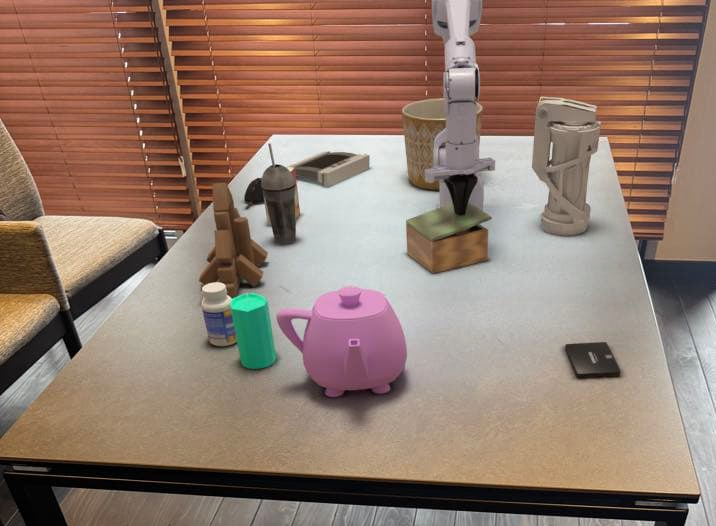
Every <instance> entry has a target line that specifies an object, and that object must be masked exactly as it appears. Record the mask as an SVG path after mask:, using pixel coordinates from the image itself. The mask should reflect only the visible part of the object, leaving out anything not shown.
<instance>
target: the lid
mask: <svg viewBox="0 0 716 526" xmlns="http://www.w3.org/2000/svg"><path fill="white" fill-rule="evenodd" d="M492 219H493V217H492V215H490V214H489V213H487V212H485V211H484V210H483V211H482V210H480V209H478V208H477V207H475V206H473V205H472V204H470V203H468V205H467V208H466V213H465V214H464V215H460V216H459V215H457V214H456V213H455V212H454V207H453V203H451V204H448V205H446V206H443V207H440V206H439V207H438V208H436V209H432V210H429V211H427V212H424V213H421V214H419V215H416V216H414V217H413V216H412V217H410V218H408V219H406V220H405V224H406V223H407V224H408V225H410V226H411V227H413V228H414V229H415V230H417V231H418V232H420V233H421V234H422V235H424V236H425V237H427V238H428V239H429V240H431V241H432V242H433V241H436V240H439V239H441V238H444V237H446V236H449V235H452V234H454V233H457V232H459V231H462V230H465V229H467V228H470V227H473V226H475V225H478V224H480V225H481V224H484V223H485V222H488V221H491V220H492Z"/></svg>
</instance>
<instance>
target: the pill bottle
mask: <svg viewBox="0 0 716 526" xmlns="http://www.w3.org/2000/svg"><path fill="white" fill-rule="evenodd" d="M201 292H202V296H203V298H204V299H203V298H202V300H203V301H202V300H201V303H200V304H201V305H200V307H201V311H202V315H203V320H204V323H205V328H206V334H207V338H208V341H209V343H210V344H211V345H213V346H215V347H228V346H231V345H234V344H236V343H237V338H236V333H235V328H234V323H233V317H232V312H231V307H230V302H231V300H232V298H231V297H230V296H228V295H227V290H226V286H225V284H223V283H220V282H218V281H217V282H214V283H209V284H206V285H203V286H202V287H201Z"/></svg>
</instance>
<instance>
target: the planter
mask: <svg viewBox="0 0 716 526" xmlns="http://www.w3.org/2000/svg"><path fill="white" fill-rule="evenodd" d="M475 102H476V104H477V112H476V135H477V138H478V145H479V146H480V143H481V133H482V132H481V131H482V121H483V110H484V107H483V105H482V104H480V103H479V102H478V103H477V101H475ZM401 116H402V117H401V118H402V127H403V138H404V146H405V147H404V148H405V158H406V167H407V177H408V179H409V181H410V182H411V184H413V185H414V186H416V187H418V188H421V189H424V190H430V191H440V181H439V180H437V181H434V182H433V183H429V182H427V181H425V170H427V169H431V168H434V165H433V148H434V140H435V137H436V136H437V135H438V134H439V133H440V132H441V131H443V130H444V129H445V128H446V115H445V103H444V97H443V98H442V97H441V98H429V99H422V100H421V99H420V100H417V101H414V102H410V103H408V104H406V105H404V106H403V107H402V109H401ZM443 145H446V143H443V144H441V145H440V146H443Z"/></svg>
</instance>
